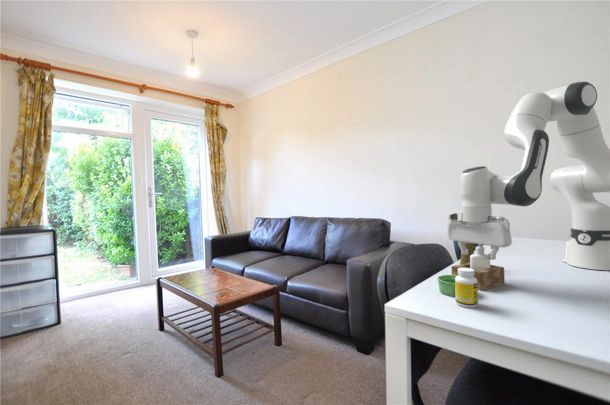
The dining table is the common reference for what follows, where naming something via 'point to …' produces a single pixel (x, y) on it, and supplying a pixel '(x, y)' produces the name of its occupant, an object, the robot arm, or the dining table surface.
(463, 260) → the cork
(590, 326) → the dining table surface
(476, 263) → the eye dropper bottle
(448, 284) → the ramekin
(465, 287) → the supplement bottle
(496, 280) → the walnut holder
